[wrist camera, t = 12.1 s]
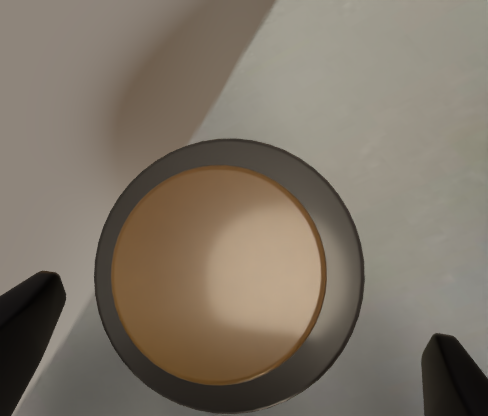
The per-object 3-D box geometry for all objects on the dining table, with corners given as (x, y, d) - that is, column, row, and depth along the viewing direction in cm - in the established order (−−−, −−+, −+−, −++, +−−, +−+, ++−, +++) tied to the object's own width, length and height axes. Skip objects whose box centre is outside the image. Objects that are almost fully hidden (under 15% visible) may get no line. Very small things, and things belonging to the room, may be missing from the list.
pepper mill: (282, 333, 18) (293, 512, 5) (194, 287, 18) (2, 343, 6) (325, 243, 18) (436, 195, 5) (237, 201, 19) (150, 68, 6)
